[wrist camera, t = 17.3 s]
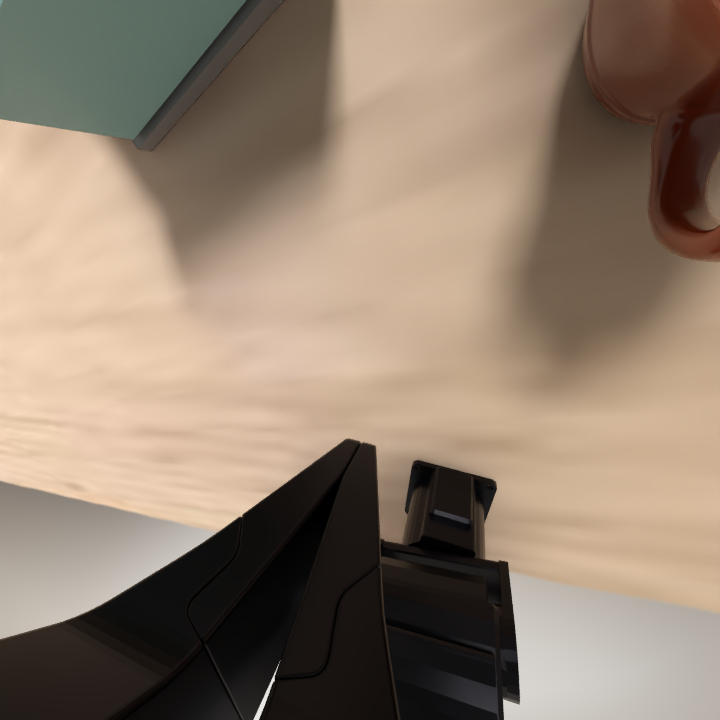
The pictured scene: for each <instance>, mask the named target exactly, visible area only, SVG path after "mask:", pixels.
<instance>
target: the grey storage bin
mask: <svg viewBox="0 0 720 720" xmlns="http://www.w3.org/2000/svg"><path fill="white" fill-rule="evenodd" d="M282 1H283V0H246V1H245V3H244V4H243V5H242V6H241V7H240V9H239V10H238V11H237V12H236V14H235V15H234V16H233V17H232V19H231V20H230V21H229V22H228V24H227V25H226V26H225V27H224V29H223V30H222V31H221V32H220V33H219V35H218V36H217V37H216V38H215V40H214V41H213V42H212V43H211V45H210V46H209V47H208V48H207V50H206V51H205V52H204V53H203V55H202V56H201V57H200V58H199V59H198V61H197V62H196V63H195V64H194V66H193V67H192V68H191V69H190V71H189V72H188V73H187V74H186V76H185V77H184V78H183V79H182V81H181V82H180V83H179V84H178V85H177V87H176V88H175V89H174V90H173V92H172V93H171V94H170V95H169V97H168V98H167V99H166V100H165V102H164V103H163V104H162V105H161V107H160V108H159V109H158V110H157V111H156V113H155V114H154V115H153V116H152V118H151V119H150V120H149V121H148V123H147V124H146V125H145V126H144V128H143V129H142V130H141V131H140V133H139V134H138V135H137V136H136V137H135V139H134V140H132V141H133V143H134V144H135V146H136V147H137V149H139V150H147V151H152V150H153V149H154V148H155V146H156V145H157V144H158V143H159V142H160V141H161V140H162V138H163V137H164V136H165V135H166V134H167V133H168V132H169V130H170V129H171V128H172V127H173V126H174V125H175V124H176V122H177V121H178V120H179V119H180V118H181V117H182V116H183V114H184V113H185V112H186V111H187V110H188V109H189V108H190V106H191V105H192V104H193V103H194V102H195V101H196V100H197V98H198V97H199V96H200V95H201V94H202V93H203V92H204V90H205V89H206V88H207V87H208V86H209V85H210V84H211V82H212V81H213V80H214V79H215V78H216V77H217V76H218V74H219V73H220V72H221V71H222V70H223V69H224V68H225V66H226V65H227V64H228V63H229V62H230V61H231V60H232V59H233V57H234V56H235V55H236V54H237V53H238V52H239V51H240V49H241V48H242V47H243V46H244V45H245V44H246V43H247V41H248V40H249V39H250V38H251V37H252V36H253V35H254V33H255V32H256V31H257V30H258V29H259V28H260V27H261V25H262V24H263V23H264V22H265V21H266V20H267V19H268V17H269V16H270V15H271V14H272V13H273V12H274V11H275V9H276V8H277V7H278V6H279V5H280V4H281V3H282Z"/></svg>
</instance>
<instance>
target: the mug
mask: <svg viewBox="0 0 720 720" xmlns="http://www.w3.org/2000/svg"><path fill="white" fill-rule="evenodd" d="M582 57H583V66H584V72H585V76H586V79H587V82H588V84H589V87H590V89H591V91H592V93H593V95H594V97H595V98H596V99H597V100H598V101H599V102H600V104H601V105H602V106H603V107H604V108H605V109H606V110H608V111H609V112H610V113H611V114H613V115H614V116H616V117H617V118H619V119H622V120H625V121H628V122H632V123H637V124H644V125H655V130H654V134H653V139H652V145H651V176H650V186H649V195H648V216H649V222H650V226H651V229H652V232H653V234H654V236H655V238H656V239H657V240H658V242H659V243H661V244H662V245H663V246H664V247H665V248H666V249H668V250H669V251H671V252H672V253H674V254H676V255H678V256H682V257H685V258H688V259H692V260H697V261H706V262H720V220H718V219H717V218H716V217H715V216H714V215H713V213H712V212H711V210H710V207H709V204H708V200H707V188H708V181H709V177H710V173H711V170H712V168H713V165H714V163H715V161H716V160H717V158H718V156H719V154H720V0H590V4H589V9H588V12H587V17H586V21H585V26H584V33H583V43H582Z"/></svg>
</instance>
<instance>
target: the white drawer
mask: <svg viewBox="0 0 720 720" xmlns="http://www.w3.org/2000/svg"><path fill="white" fill-rule="evenodd" d="M245 1H246V0H0V119H3V120H9V121H16V122H22V123H29V124H35V125H41V126H48V127H54V128H60V129H67V130H73V131H80V132H86V133H92V134H99V135H105V136H111V137H118V138H124V139H131V140H134V139H135V137H136V136H137V135H138V134H139V133H140V131H141V130H142V129H143V128H144V126H145V125H146V124H147V123H148V121H149V120H150V119H151V118H152V116H153V115H154V114H155V113H156V111H157V110H158V109H159V108H160V107H161V105H162V104H163V103H164V102H165V100H166V99H167V98H168V97H169V95H170V94H171V93H172V92H173V90H174V89H175V88H176V87H177V85H178V84H179V83H180V82H181V81H182V79H183V78H184V77H185V76H186V74H187V73H188V72H189V71H190V69H191V68H192V67H193V66H194V64H195V63H196V62H197V61H198V59H199V58H200V57H201V56H202V55H203V53H204V52H205V51H206V50H207V48H208V47H209V46H210V45H211V43H212V42H213V41H214V40H215V38H216V37H217V36H218V35H219V33H220V32H221V31H222V30H223V29H224V27H225V26H226V25H227V24H228V22H229V21H230V20H231V19H232V17H233V16H234V15H235V14H236V12H237V11H238V10H239V9H240V7H241V6H242V5H243V4H244V3H245Z"/></svg>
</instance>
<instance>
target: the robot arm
mask: <svg viewBox="0 0 720 720" xmlns="http://www.w3.org/2000/svg"><path fill="white" fill-rule="evenodd" d="M417 466H419V467H417ZM488 485H490V486H488ZM496 490H497V485H496V482H495V481H494V480H491V479H488V478H484V477H480V476H476V475H473V474H469V473H465V472H461V471H457V470H454V469H450V468H446V467H442V466H438V465H435V464H431V463H427V462H423V461H419V460H416V461H414V462H413V465H412V470H411V476H410V482H409V488H408V495H407V501H406V507H405V512H406V513H407V514H408V517H407V522H406V526H405V531H404V536H403V541H402V544H398V543H393V542H387V541H384V539H380V525H379V502H378V480H377V457H376V446H375V445H372V444H368V443H364V442H363V443H361V442H360V441H357V440H353V439H345V440H344V441H343V442H341V443H340V444H339V445H337V446H336V447H334V448H333V449H332V450H330V451H329V452H328V453H326V454H325V455H323V456H322V457H321V458H319V459H318V460H317V461H315V462H314V463H313V464H311V465H310V466H308V467H307V468H306V469H304V470H303V471H302V472H300V473H299V474H297V475H296V476H295V477H293V478H292V479H291V480H289V481H288V482H287V483H285V484H284V485H282V486H281V487H280V488H278V489H277V490H276V491H274V492H273V493H271V494H270V495H269V496H267V497H266V498H265V499H263V500H262V501H261V502H259V503H258V504H256V505H255V506H254V507H252V508H251V509H250V510H248V511H247V512H245V513H244V514H243V515H242V517H238V518H237V519H236V520H234V521H233V522H232V523H230V524H229V525H227V526H226V527H225V528H223V529H222V530H220V531H219V532H217V533H216V534H215V535H213V536H212V537H210V538H209V539H207V540H206V541H205V542H203V543H202V544H200V545H198V546H197V547H195V548H194V549H192V550H191V551H189V552H187V553H186V554H184V555H183V556H181V557H179V558H178V559H176V560H175V561H173V562H171V563H170V564H168V565H167V566H165V567H163V568H162V569H160V570H158V571H157V572H155V573H153V574H152V575H150V576H148V577H147V578H145V579H143V580H142V581H140V582H139V583H137V584H135V585H134V586H132V587H130V588H129V589H127V590H125V591H124V592H122V593H120V594H119V595H117V596H116V597H114V598H112V599H111V600H109V601H107V602H105V603H103V604H102V605H100V606H98V607H96V608H94V609H92V610H90V611H88V612H86V613H83V614H81V615H79V616H76V617H74V618H71V619H68V620H66V621H63V622H60V623H57V624H53V625H50V626H46V627H42V628H39V629H36V630H32V631H28V632H25V633H21V634H18V635H14V636H10V637H7V638H3V639H0V720H253V719H254V717H255V715H256V713H257V710H258V708H259V706H260V704H261V702H262V699H263V697H264V695H265V693H266V690H267V688H268V686H269V684H270V682H271V679H272V677H273V675H274V673H275V671H276V668H277V666H278V664H279V666H278V669H277V672H276V675H275V681H274V682H273V684H272V687H271V690H270V693H269V696H268V698H267V701H266V704H265V706H264V709H263V711H262V714H261V716H260V719H259V720H504V712H503V699H505V700H507V701H510V702H514V703H517V704H519V703H520V690H519V671H518V657H517V644H516V633H515V622H514V614H513V604H512V596H511V587H510V578H509V569H508V562H505V561H500V560H499V562H496V561H491V560H485V531H484V523H485V520H486V517H487V515H488V512H489V509H490V506H491V504H492V501H493V498H494V496H495V493H496ZM279 662H280V663H279Z"/></svg>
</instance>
